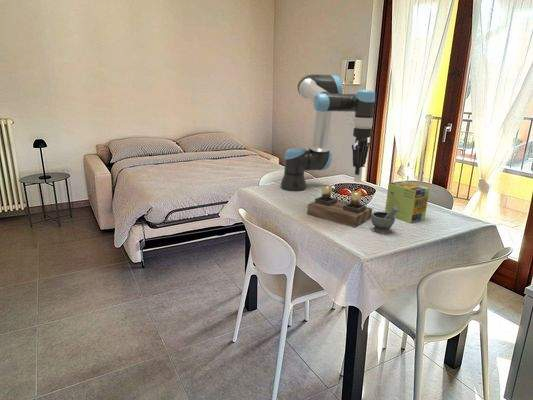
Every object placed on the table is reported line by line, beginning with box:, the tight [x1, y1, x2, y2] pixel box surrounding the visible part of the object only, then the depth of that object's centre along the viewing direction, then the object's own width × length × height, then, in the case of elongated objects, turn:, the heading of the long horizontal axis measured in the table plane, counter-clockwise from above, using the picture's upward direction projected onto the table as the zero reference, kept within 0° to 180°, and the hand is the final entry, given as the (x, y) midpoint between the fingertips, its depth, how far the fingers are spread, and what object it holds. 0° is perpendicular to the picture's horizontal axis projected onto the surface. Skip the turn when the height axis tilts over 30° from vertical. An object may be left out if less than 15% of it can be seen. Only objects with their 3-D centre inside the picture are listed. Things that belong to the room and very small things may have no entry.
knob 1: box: [321, 184, 333, 198], centre depth 179 cm, size 4×4×5 cm
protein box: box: [384, 180, 431, 224], centre depth 178 cm, size 10×15×16 cm
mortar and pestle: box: [370, 206, 399, 234], centre depth 160 cm, size 11×9×12 cm
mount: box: [306, 195, 373, 228], centre depth 177 cm, size 16×25×7 cm, turn 50°
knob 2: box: [349, 190, 362, 205], centre depth 170 cm, size 4×4×5 cm
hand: (357, 181), depth 167 cm, fingers closed
